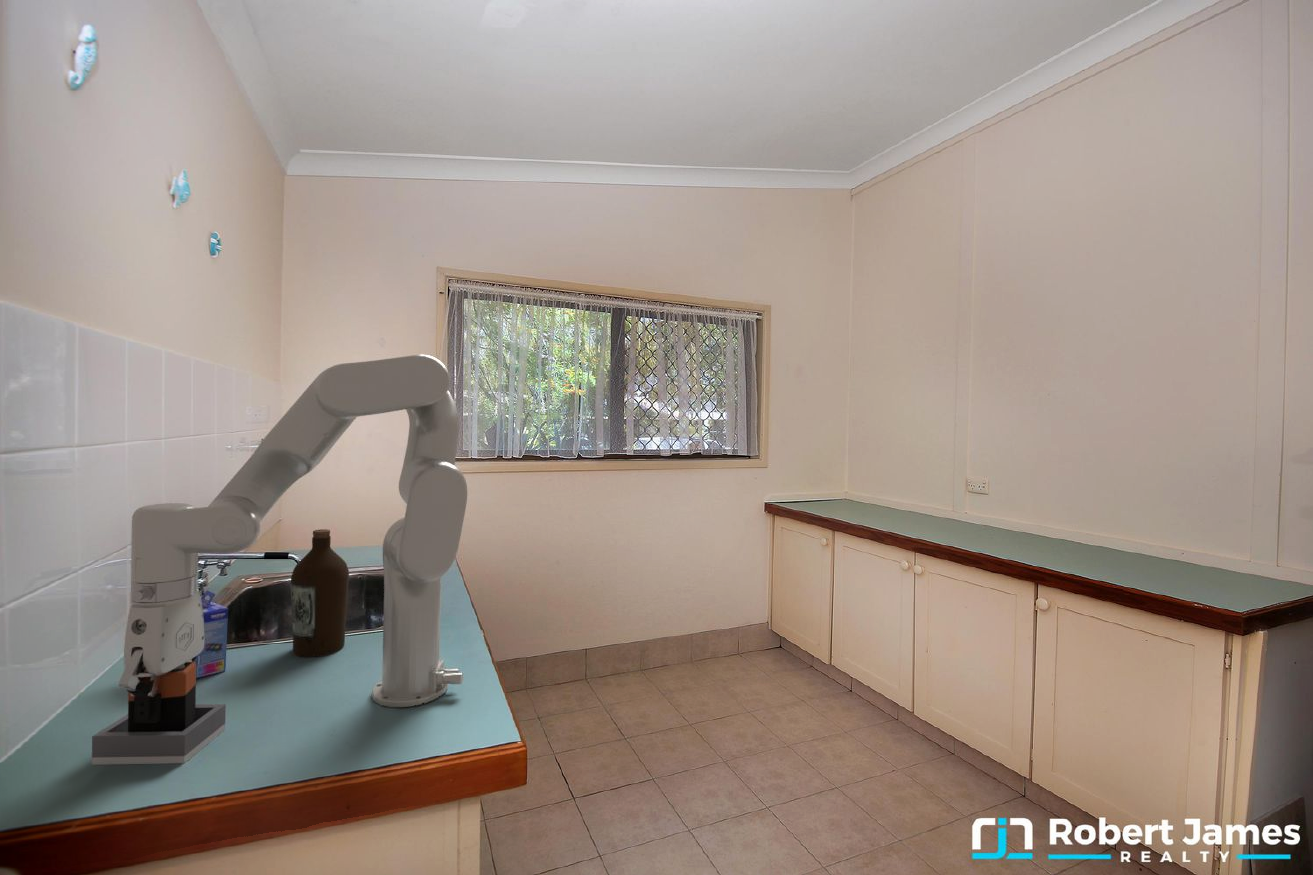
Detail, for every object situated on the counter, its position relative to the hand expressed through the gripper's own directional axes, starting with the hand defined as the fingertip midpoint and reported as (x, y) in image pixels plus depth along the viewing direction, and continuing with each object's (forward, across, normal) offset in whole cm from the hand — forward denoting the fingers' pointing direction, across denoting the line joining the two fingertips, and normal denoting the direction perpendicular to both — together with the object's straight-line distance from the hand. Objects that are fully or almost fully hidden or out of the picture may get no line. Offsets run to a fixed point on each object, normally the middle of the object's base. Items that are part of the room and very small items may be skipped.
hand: (163, 710), depth 87 cm
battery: (+3, 0, 0) cm, 3 cm away
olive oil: (+6, +37, -5) cm, 38 cm away
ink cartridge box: (+6, +27, +12) cm, 30 cm away
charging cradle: (+5, 0, 0) cm, 5 cm away
